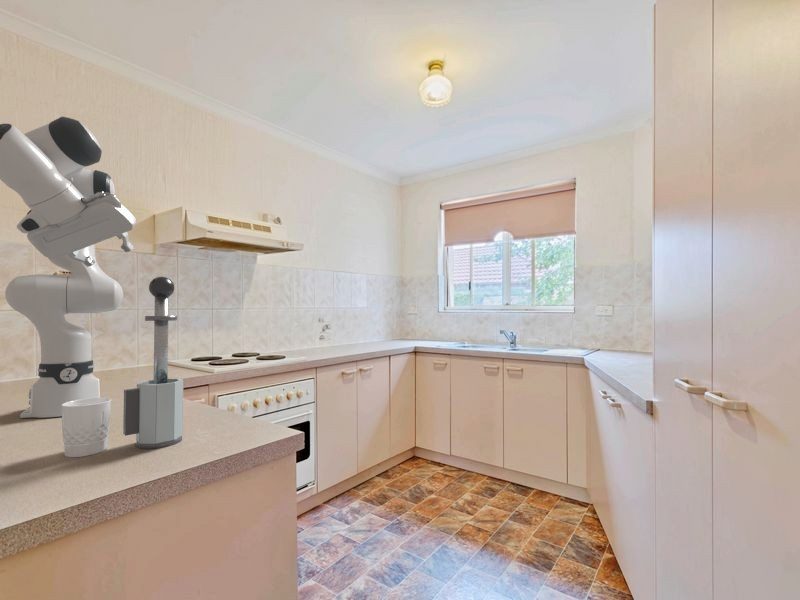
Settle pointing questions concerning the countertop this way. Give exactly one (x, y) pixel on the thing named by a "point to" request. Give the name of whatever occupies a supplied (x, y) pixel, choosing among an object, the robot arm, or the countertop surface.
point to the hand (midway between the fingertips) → (111, 257)
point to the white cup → (85, 426)
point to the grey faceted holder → (154, 413)
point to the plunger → (161, 326)
